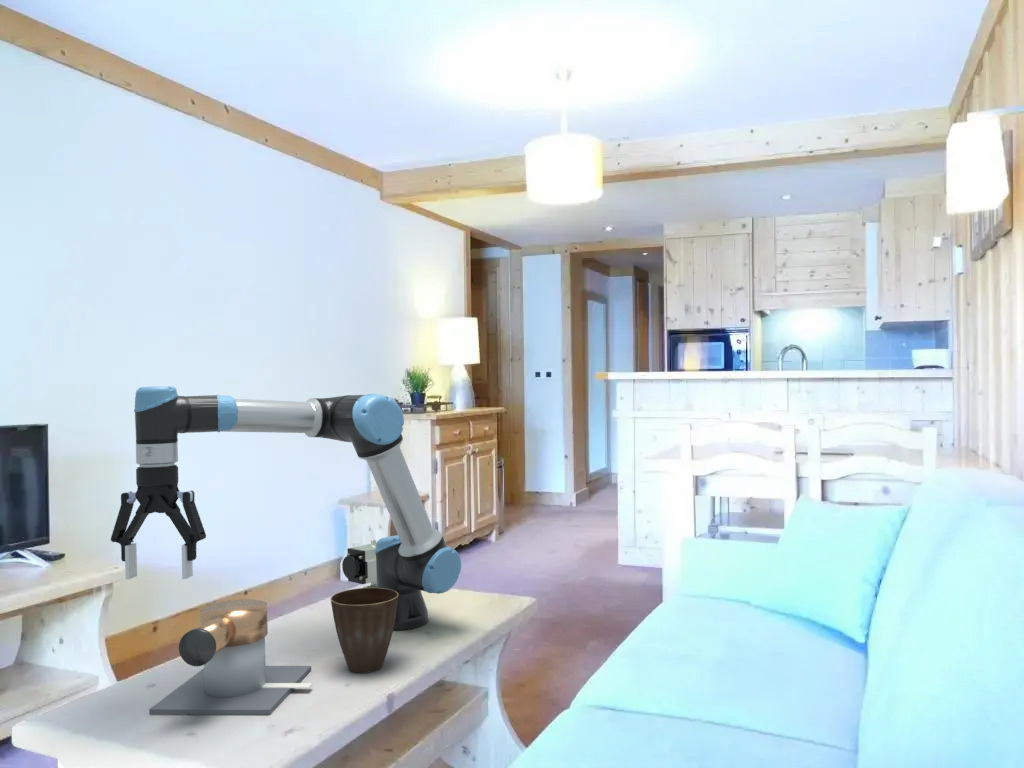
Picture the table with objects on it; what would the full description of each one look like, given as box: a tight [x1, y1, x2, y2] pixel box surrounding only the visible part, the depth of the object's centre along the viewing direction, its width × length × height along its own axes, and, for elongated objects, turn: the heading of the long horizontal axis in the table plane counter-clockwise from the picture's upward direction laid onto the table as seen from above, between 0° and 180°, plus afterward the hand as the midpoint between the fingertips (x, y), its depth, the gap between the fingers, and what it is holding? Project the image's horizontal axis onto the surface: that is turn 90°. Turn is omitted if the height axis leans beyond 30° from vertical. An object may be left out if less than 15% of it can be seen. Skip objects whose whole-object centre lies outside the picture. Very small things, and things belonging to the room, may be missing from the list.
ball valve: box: [341, 539, 377, 588], centre depth 232 cm, size 18×8×18 cm, turn 138°
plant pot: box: [330, 587, 398, 674], centre depth 175 cm, size 15×15×16 cm
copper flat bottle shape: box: [178, 598, 269, 667], centre depth 158 cm, size 23×13×7 cm, turn 176°
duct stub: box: [148, 636, 314, 716], centre depth 163 cm, size 28×24×11 cm
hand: (159, 577), depth 153 cm, fingers open, 11 cm apart
